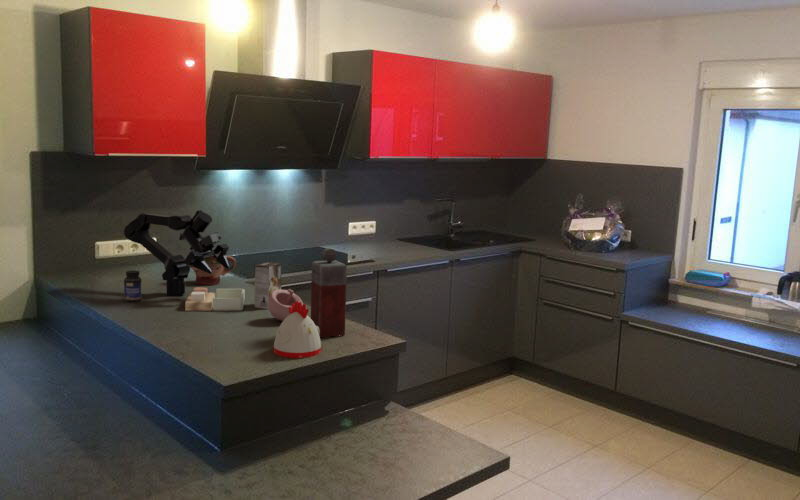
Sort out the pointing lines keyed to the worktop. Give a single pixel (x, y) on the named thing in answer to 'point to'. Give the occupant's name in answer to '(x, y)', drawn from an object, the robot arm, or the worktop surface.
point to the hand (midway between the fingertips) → (220, 270)
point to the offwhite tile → (198, 296)
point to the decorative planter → (216, 270)
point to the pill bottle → (132, 286)
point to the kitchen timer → (297, 334)
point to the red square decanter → (329, 294)
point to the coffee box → (266, 282)
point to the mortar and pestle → (282, 303)
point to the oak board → (200, 303)
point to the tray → (229, 299)
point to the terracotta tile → (201, 290)
